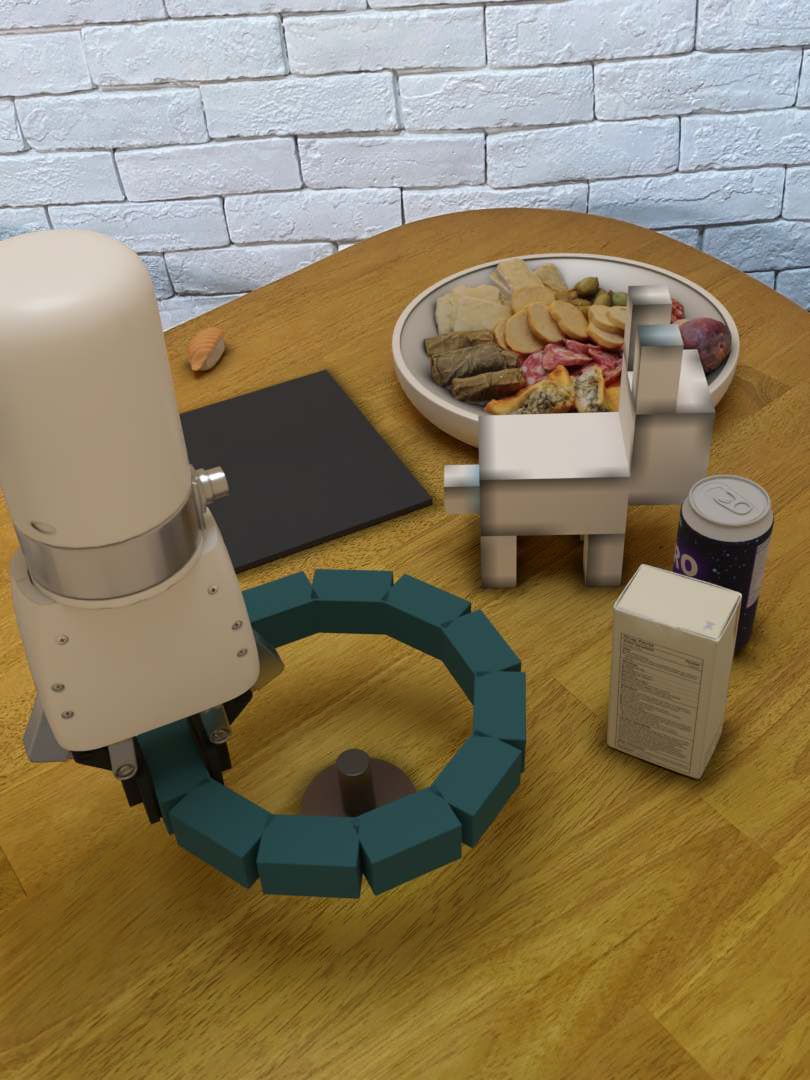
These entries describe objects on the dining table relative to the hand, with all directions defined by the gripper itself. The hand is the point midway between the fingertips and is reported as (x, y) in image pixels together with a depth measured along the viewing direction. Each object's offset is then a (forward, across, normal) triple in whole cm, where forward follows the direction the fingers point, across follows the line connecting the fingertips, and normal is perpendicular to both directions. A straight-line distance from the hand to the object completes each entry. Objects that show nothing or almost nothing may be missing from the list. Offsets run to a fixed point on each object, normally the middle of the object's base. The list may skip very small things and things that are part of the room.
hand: (180, 788), depth 60 cm
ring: (0, -9, 0) cm, 9 cm away
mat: (+8, -16, -35) cm, 39 cm away
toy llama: (+8, -33, -14) cm, 37 cm away
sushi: (+8, -18, -54) cm, 57 cm away
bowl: (+7, -45, -34) cm, 57 cm away
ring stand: (+8, -10, 0) cm, 13 cm away
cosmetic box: (+8, -29, +4) cm, 30 cm away
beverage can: (+8, -37, -2) cm, 38 cm away
